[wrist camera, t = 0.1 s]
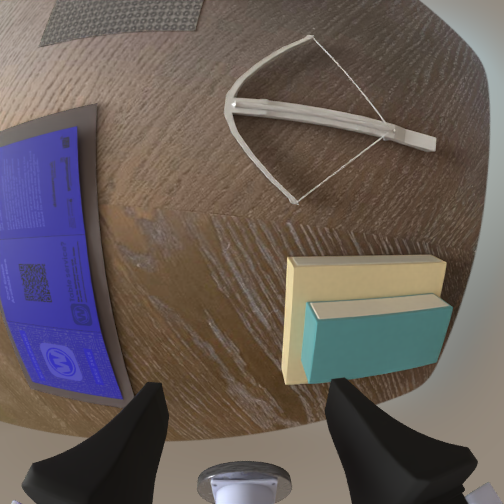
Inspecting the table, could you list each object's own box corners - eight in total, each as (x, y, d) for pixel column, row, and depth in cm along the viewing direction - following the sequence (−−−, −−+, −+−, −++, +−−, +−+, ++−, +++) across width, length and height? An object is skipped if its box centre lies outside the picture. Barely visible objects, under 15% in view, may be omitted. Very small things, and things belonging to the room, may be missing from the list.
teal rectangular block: (419, 344, 22) (436, 362, 19) (300, 360, 21) (308, 384, 18) (432, 291, 21) (453, 306, 18) (305, 300, 20) (316, 320, 17)
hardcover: (409, 351, 25) (421, 365, 23) (281, 367, 24) (285, 385, 22) (430, 253, 22) (447, 262, 20) (287, 255, 22) (293, 266, 19)
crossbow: (217, 194, 21) (213, 196, 19) (236, 36, 18) (234, 24, 16) (417, 221, 21) (430, 225, 19) (427, 77, 18) (440, 71, 16)
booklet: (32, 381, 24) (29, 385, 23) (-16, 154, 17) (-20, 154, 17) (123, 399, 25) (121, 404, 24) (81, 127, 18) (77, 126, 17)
